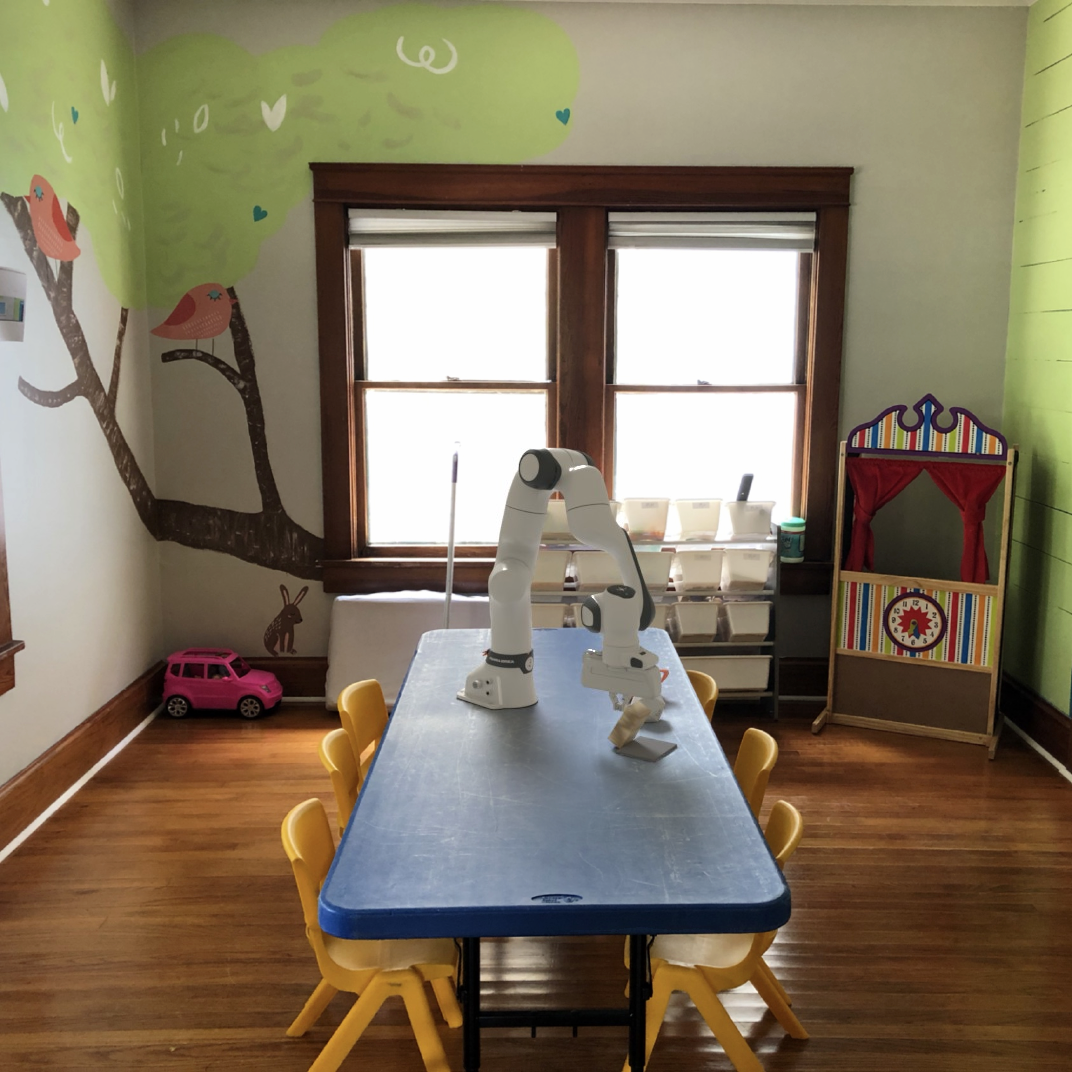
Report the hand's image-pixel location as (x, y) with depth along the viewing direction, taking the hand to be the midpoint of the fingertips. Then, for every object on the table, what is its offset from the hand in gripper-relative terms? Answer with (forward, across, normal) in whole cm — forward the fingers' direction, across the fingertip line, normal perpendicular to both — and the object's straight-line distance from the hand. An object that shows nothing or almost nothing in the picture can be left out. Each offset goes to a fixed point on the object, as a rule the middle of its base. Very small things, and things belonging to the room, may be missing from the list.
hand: (620, 710), depth 251 cm
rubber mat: (+8, +7, 0) cm, 11 cm away
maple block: (+7, 0, 0) cm, 7 cm away
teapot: (+8, -12, +36) cm, 39 cm away
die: (+9, -2, +19) cm, 21 cm away
